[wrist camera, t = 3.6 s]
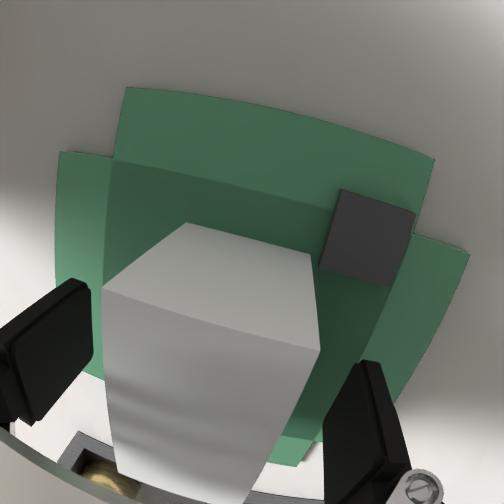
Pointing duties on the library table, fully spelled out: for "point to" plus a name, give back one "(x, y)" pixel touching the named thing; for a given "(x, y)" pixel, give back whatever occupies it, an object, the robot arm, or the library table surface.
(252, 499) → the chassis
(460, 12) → the library table surface
